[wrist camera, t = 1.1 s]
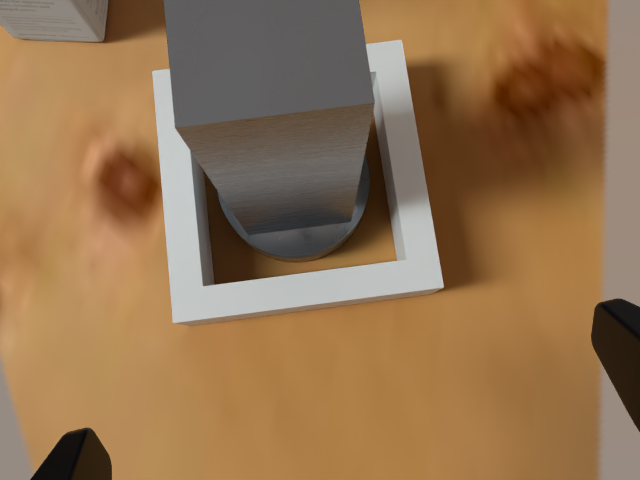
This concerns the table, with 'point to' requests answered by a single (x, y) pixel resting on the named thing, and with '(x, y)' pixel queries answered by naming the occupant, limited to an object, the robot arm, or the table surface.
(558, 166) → the table surface
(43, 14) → the skincare box
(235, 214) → the end cover
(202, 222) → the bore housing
